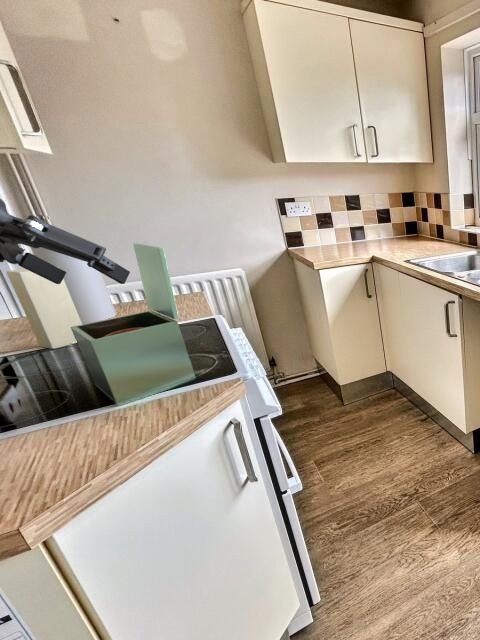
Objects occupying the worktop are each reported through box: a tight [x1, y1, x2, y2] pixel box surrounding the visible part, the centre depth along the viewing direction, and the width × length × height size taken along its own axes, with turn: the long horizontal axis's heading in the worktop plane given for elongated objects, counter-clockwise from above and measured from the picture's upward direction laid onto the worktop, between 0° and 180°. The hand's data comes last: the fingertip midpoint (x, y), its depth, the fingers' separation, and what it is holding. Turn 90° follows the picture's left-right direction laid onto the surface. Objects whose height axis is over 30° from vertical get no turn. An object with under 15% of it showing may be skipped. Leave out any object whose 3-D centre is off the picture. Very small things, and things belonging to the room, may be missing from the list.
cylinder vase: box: [30, 247, 118, 324], centre depth 132 cm, size 12×12×25 cm
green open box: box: [71, 309, 198, 407], centre depth 90 cm, size 14×16×14 cm
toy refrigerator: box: [5, 267, 82, 350], centre depth 114 cm, size 8×7×21 cm
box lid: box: [132, 242, 180, 320], centre depth 90 cm, size 14×16×1 cm
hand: (93, 278), depth 81 cm, fingers open, 13 cm apart
